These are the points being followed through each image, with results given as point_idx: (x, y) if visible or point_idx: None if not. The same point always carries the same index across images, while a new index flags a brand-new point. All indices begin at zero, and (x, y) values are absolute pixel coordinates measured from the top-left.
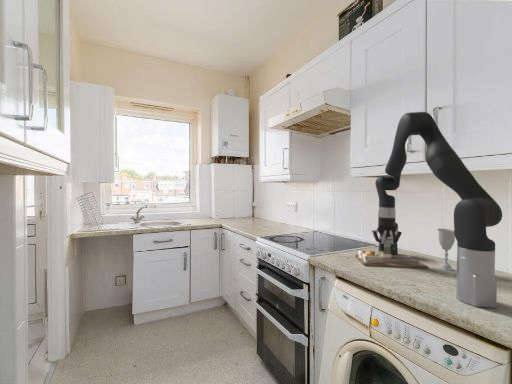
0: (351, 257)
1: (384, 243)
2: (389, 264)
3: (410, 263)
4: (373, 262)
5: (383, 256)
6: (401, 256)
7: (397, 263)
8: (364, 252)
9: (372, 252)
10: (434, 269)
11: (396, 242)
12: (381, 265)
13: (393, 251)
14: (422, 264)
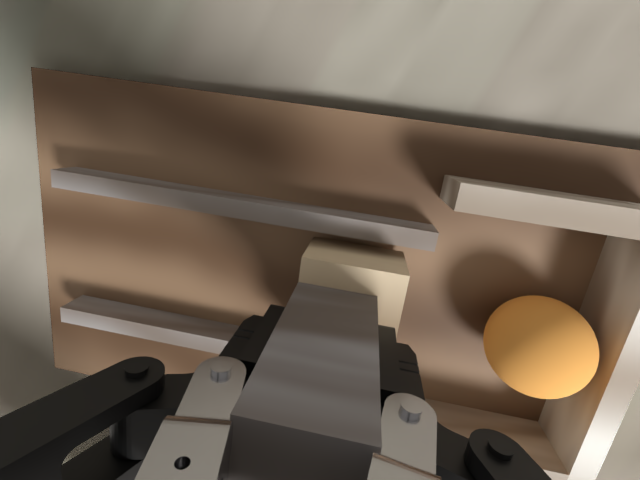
0: None
1: (375, 383)
2: (395, 132)
3: (151, 175)
4: (554, 191)
5: (397, 265)
6: (153, 324)
7: (283, 172)
8: None
9: None
10: (5, 55)
11: (137, 362)
12: (487, 130)
13: None
14: (54, 142)
